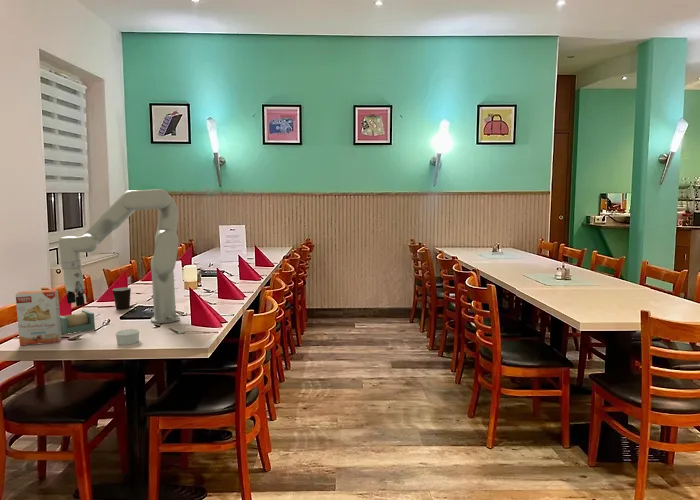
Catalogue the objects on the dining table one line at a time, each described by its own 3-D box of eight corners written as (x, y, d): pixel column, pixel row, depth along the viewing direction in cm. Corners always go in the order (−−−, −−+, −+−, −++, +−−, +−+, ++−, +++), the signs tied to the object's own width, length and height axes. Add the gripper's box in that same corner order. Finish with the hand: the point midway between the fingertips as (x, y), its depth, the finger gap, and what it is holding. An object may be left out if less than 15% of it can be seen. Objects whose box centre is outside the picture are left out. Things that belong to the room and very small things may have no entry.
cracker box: (19, 346, 215) (14, 293, 212) (23, 342, 221) (19, 291, 218) (58, 342, 219) (54, 291, 216) (62, 339, 225) (58, 288, 222)
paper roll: (82, 324, 244) (82, 311, 243) (88, 327, 240) (87, 313, 239) (63, 328, 238) (62, 314, 237) (68, 330, 234) (67, 317, 233)
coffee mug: (127, 310, 276) (126, 290, 275) (110, 310, 276) (109, 290, 275) (137, 305, 287) (135, 286, 286) (120, 305, 288) (119, 286, 287)
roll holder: (95, 328, 240) (93, 313, 239) (65, 334, 231) (63, 318, 230) (85, 325, 247) (84, 309, 246) (56, 330, 238) (54, 315, 237)
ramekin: (143, 339, 223) (142, 328, 222) (135, 345, 214) (134, 334, 213) (121, 339, 222) (120, 329, 222) (112, 346, 214) (111, 335, 213)
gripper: (88, 265, 232) (93, 304, 235) (72, 262, 244) (77, 300, 246) (69, 268, 227) (74, 308, 229) (54, 265, 239) (59, 303, 241)
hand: (76, 304), depth 238 cm, fingers open, 9 cm apart
